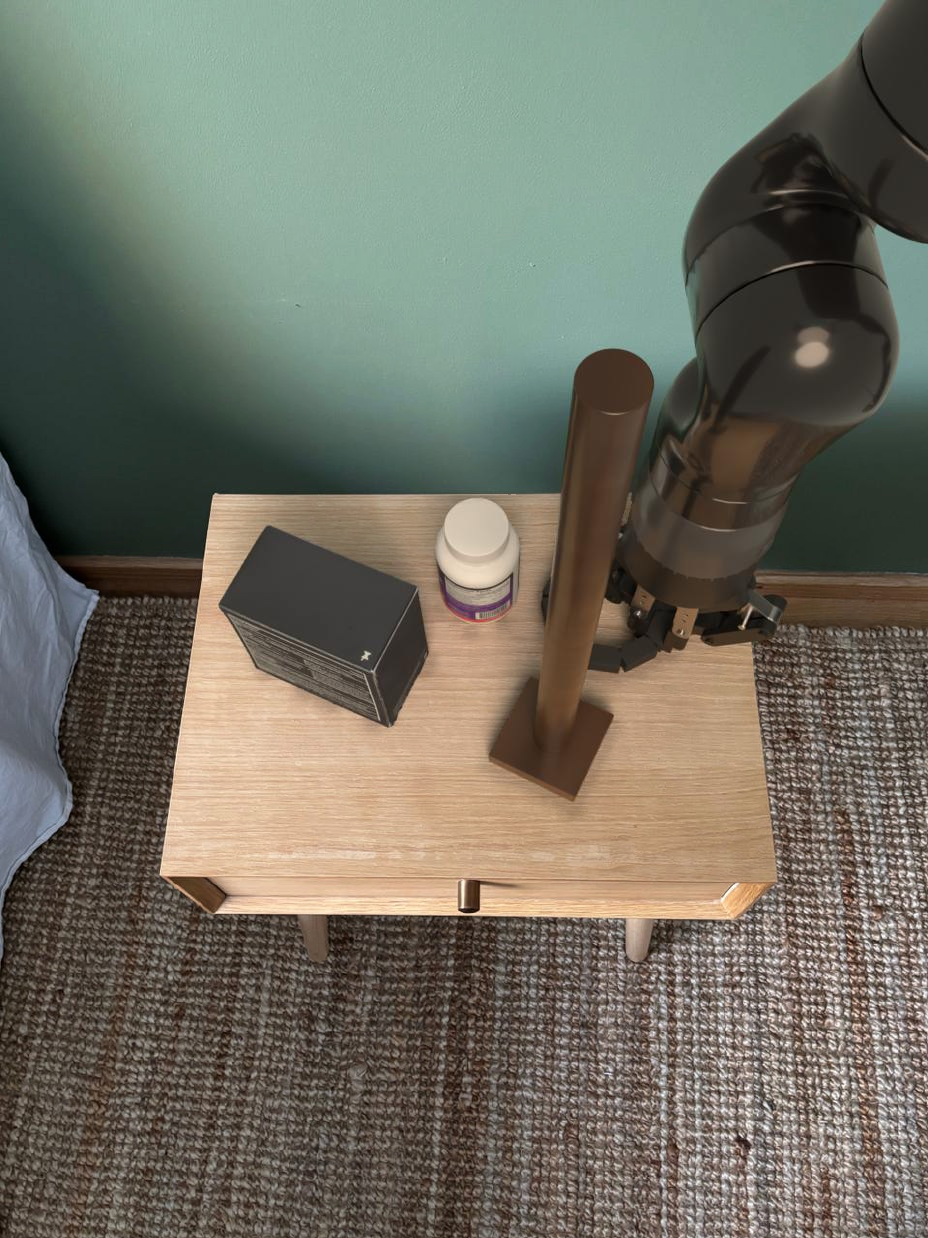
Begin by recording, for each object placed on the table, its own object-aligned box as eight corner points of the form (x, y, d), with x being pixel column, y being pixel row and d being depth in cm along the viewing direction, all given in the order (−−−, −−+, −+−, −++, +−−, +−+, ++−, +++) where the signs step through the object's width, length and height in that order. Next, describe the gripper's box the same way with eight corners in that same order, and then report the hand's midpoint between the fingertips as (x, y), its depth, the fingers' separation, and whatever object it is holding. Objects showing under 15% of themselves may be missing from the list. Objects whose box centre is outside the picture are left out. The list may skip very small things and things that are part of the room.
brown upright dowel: (612, 721, 68) (745, 341, 31) (573, 802, 66) (668, 498, 29) (529, 682, 69) (565, 273, 32) (489, 761, 67) (478, 419, 30)
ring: (692, 583, 71) (696, 574, 70) (640, 695, 68) (643, 688, 67) (576, 532, 73) (577, 523, 72) (520, 640, 70) (520, 632, 69)
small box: (434, 647, 70) (424, 582, 60) (392, 731, 68) (374, 679, 58) (298, 588, 72) (267, 517, 62) (252, 669, 70) (212, 608, 60)
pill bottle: (456, 546, 73) (451, 475, 64) (529, 569, 72) (533, 501, 63) (428, 612, 71) (418, 549, 62) (502, 637, 70) (503, 577, 61)
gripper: (854, 504, 54) (772, 629, 70) (613, 407, 57) (587, 548, 73) (804, 624, 51) (731, 724, 67) (554, 517, 54) (541, 638, 70)
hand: (656, 633), depth 70 cm, fingers closed on ring, 1 cm apart
